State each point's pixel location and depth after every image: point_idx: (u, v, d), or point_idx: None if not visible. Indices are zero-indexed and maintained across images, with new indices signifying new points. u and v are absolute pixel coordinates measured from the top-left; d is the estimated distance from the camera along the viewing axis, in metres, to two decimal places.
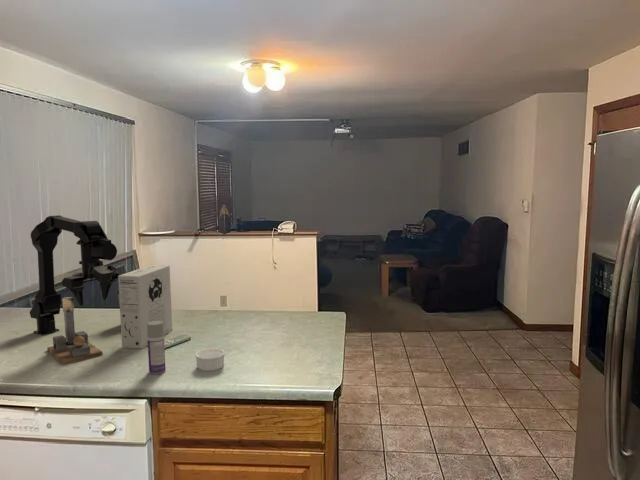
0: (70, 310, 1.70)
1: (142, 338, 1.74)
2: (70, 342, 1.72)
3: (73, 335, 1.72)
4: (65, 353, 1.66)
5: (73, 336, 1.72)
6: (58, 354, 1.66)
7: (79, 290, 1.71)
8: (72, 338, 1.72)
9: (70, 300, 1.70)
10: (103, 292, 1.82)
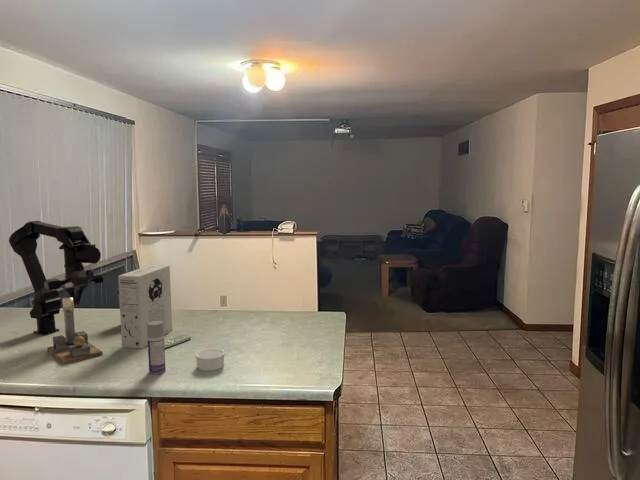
0: (70, 310, 1.70)
1: (142, 338, 1.74)
2: (70, 342, 1.72)
3: (73, 335, 1.72)
4: (65, 353, 1.66)
5: (73, 336, 1.72)
6: (58, 354, 1.66)
7: (70, 290, 1.82)
8: (72, 338, 1.72)
9: (70, 300, 1.70)
10: (76, 297, 1.86)
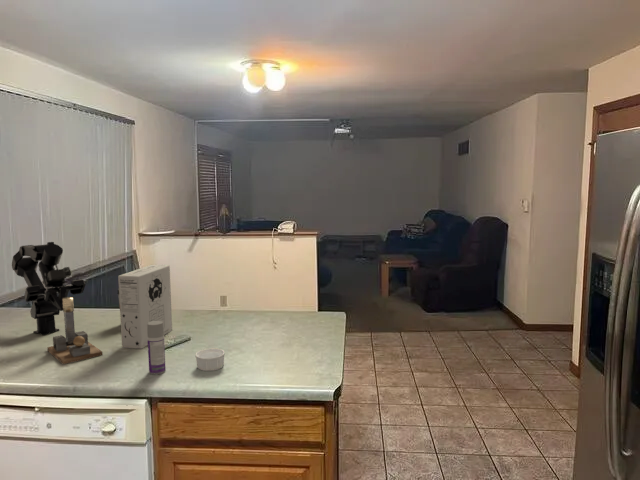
0: (70, 310, 1.70)
1: (142, 338, 1.74)
2: (70, 342, 1.72)
3: (73, 335, 1.72)
4: (65, 353, 1.66)
5: (73, 336, 1.72)
6: (58, 354, 1.66)
7: (52, 294, 1.77)
8: (72, 338, 1.72)
9: (70, 300, 1.70)
10: None
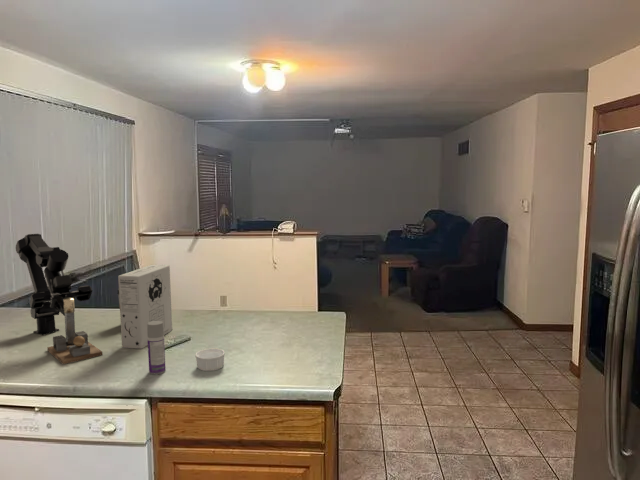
0: (71, 311, 1.70)
1: (142, 338, 1.74)
2: (70, 342, 1.72)
3: (73, 335, 1.72)
4: (65, 353, 1.66)
5: (73, 336, 1.72)
6: (58, 354, 1.66)
7: (58, 300, 1.72)
8: (72, 338, 1.72)
9: (71, 301, 1.69)
10: None
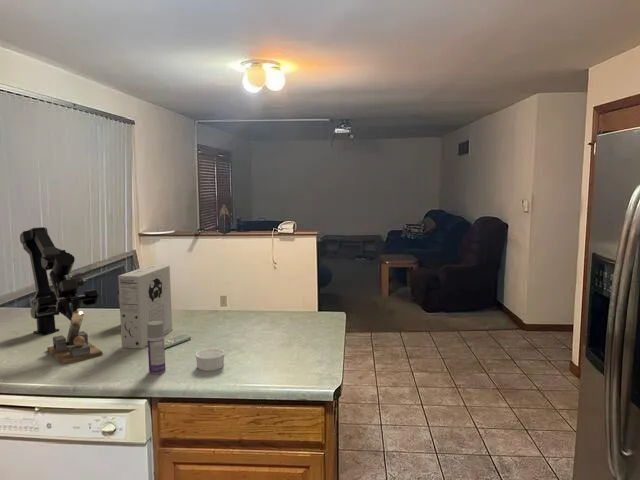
0: (78, 325, 1.66)
1: (142, 338, 1.74)
2: (70, 344, 1.72)
3: None
4: (65, 353, 1.66)
5: None
6: (58, 354, 1.66)
7: (64, 305, 1.68)
8: None
9: (80, 319, 1.64)
10: None
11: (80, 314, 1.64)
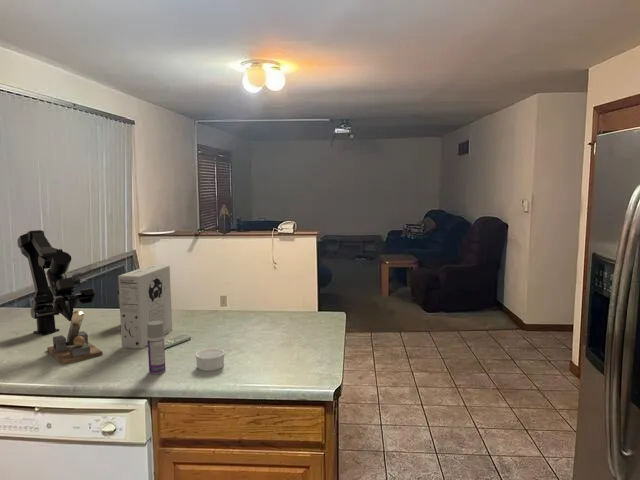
0: (78, 325, 1.66)
1: (142, 338, 1.74)
2: (70, 344, 1.72)
3: None
4: (65, 353, 1.66)
5: None
6: (58, 354, 1.66)
7: (61, 303, 1.70)
8: None
9: (80, 319, 1.64)
10: None
11: (80, 314, 1.64)
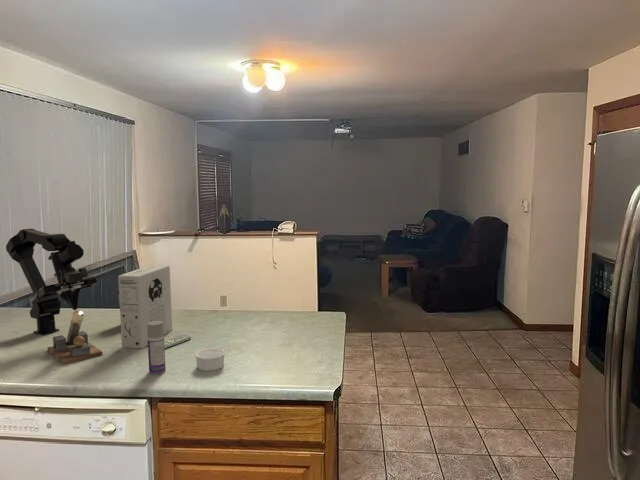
0: (78, 325, 1.66)
1: (142, 338, 1.74)
2: (70, 344, 1.72)
3: None
4: (65, 353, 1.66)
5: None
6: (58, 354, 1.66)
7: (67, 294, 1.79)
8: None
9: (80, 319, 1.64)
10: None
11: (80, 314, 1.64)
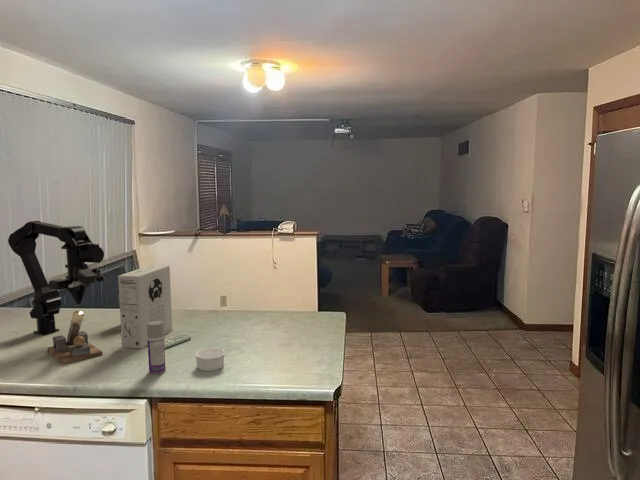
0: (78, 325, 1.66)
1: (142, 338, 1.74)
2: (70, 344, 1.72)
3: None
4: (65, 353, 1.66)
5: None
6: (58, 354, 1.66)
7: (76, 290, 1.84)
8: None
9: (80, 319, 1.64)
10: None
11: (80, 314, 1.64)
